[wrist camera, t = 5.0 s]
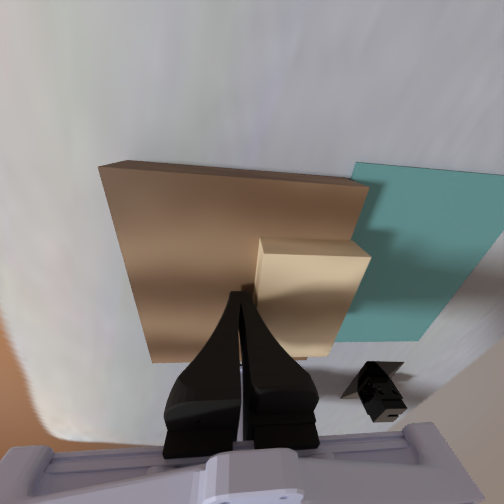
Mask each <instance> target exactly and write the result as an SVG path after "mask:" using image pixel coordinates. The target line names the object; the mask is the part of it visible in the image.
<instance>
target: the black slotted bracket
mask: <svg viewBox="0 0 504 504" xmlns="http://www.w3.org/2000/svg"><path fill="white" fill-rule="evenodd" d="M403 363H404V362H380V361H367V362H366V363H365V365H364V366H363V367H362V369H361V370H360V371H359V373H358V374H357V376H356V377H355V378H354V380H353V381H352V382H351V384H350V385H349V387H348V388H347V389H346V391H345V392H344V394H343V395H342V396H341V398H340V399H357V398H360V400H361V402H362V404H363V406H364V408H365V410H366V412H367V414H368V415H370V417H371V419H372V421H373V422H394V421H395V420H396V419H397V418H398V417H399V416H398V414H402V413H403V412H404V411H405V410H406V409H407V407H406V405H405V404H404V402H403V401H402V399H403V397H402V396H401V394H400V393H399V391H398V390H397V388H396V386H395V385H394V383H393V382H392V380H391V377H392V376H393V375H394V374H395V373H396V372H397V370H398V369H399V368H400V367H401V366H402V365H403ZM392 388H393V389H392Z"/></svg>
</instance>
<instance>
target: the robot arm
mask: <svg viewBox="0 0 504 504" xmlns="http://www.w3.org/2000/svg"><path fill="white" fill-rule="evenodd" d="M239 338H240V347H241V357H242V366H240V356H239ZM318 401H319V396H318V393H317V390H316V387H315V385H314V383H313V380H312V378H311V376H310V374H309V373H308V372H306V371H305V370H304V369H303V368H302V367H301V366H300V365H299V364H298V363H297V362H296V361H295V360H294V359H293V358H292V357H291V356H290V355H289V354H288V353H287V352H286V351H285V350H284V348H283V347H282V346H281V345H280V344H279V343H278V341H277V340H276V339H275V338H274V336H273V335H272V333H271V332H270V331H269V329H268V328H267V326H266V324H265V323H264V321H263V320H262V318H261V316H260V314H259V312H258V310H257V308H256V306H255V304H254V302H253V299H252V297H251V294H250V292H249V291H231V292H230V293H229V298H228V302H227V305H226V307H225V310H224V312H223V314H222V317H221V319H220V320H219V322H218V324H217V326H216V328H215V330H214V332H213V333H212V335H211V336H210V338H209V339H208V341H207V342H206V344H205V345H204V347H203V348H202V349H201V351H200V352H199V353H198V355H197V356H196V357H195V358H194V360H193V361H192V362H191V363H190V364H189V365H188V367H187V368H186V369H185V370H184V371H183V372H182V373H181V374H180V375H179V376H178V378H177V380H176V382H175V384H174V386H173V388H172V390H171V392H170V395H169V397H168V400H167V403H166V407H165V411H164V420H165V423H166V427H167V430H168V431H167V435H166V440H165V444H164V446H156V447H140V448H125V449H108V450H93V451H77V452H61V453H54V451H53V449H52V448H50V447H48V446H44V445H36V446H19V447H12V448H10V449H9V450H8V452H7V453H6V454H5V456H4V457H3V458H2V460H1V461H0V504H476V503H479V502H482V501H484V500H485V497H484V495H483V494H482V493H481V491H480V490H479V488H478V487H477V485H476V484H475V482H474V481H473V479H472V478H471V477H470V475H469V474H468V472H467V471H466V470H465V468H464V466H463V465H462V463H461V462H460V461H459V459H458V458H457V456H456V455H455V453H454V452H453V450H452V449H451V448H450V446H449V445H448V443H447V442H446V440H445V439H444V437H443V436H442V435H441V433H440V432H439V430H438V429H437V427H436V426H435V425H434V423H432V422H424V423H412V424H408V425H406V426H405V427H404V428H403V429H402V431H395V432H394V431H393V432H377V433H361V434H346V435H330V436H318V433H317V430H316V426H315V423H316V419H315V415H314V409H315V407H316V405H317V403H318Z"/></svg>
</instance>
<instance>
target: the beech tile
mask: <svg viewBox="0 0 504 504" xmlns="http://www.w3.org/2000/svg"><path fill="white" fill-rule="evenodd" d="M370 259H371V256H370V255H368V254H367V253H366V252H365V251H364V250H363V249H362V248H361V247H359V246H358V245H357V244H356V243H355V242H354V241H343V240H319V239H295V238H271V237H260V239H259V248H258V257H257V266H256V275H255V284H254V294H253V302H254V304H255V306H256V308H257V310H258V312H259V314H260V316H261V318H262V320H263V321H264V323H265V324H266V326H267V328H268V329H269V331H270V332H271V333H272V335H273V336H274V338H275V339H276V340H277V341H278V343H279V344H280V345H281V346H282V347H283V348H284V350H285V351H286V352H287V353H288V354H289V355H290V356H291V357H323V356H328V355H329V352H330V350H331V348H332V346H333V343H334V341H335V339H336V337H337V334H338V332H339V330H340V327H341V325H342V323H343V321H344V318H345V316H346V314H347V312H348V309H349V307H350V305H351V303H352V300H353V298H354V296H355V293H356V291H357V289H358V287H359V284H360V282H361V280H362V278H363V275H364V273H365V271H366V269H367V266H368V264H369V262H370Z"/></svg>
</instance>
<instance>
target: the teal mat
mask: <svg viewBox="0 0 504 504" xmlns="http://www.w3.org/2000/svg"><path fill="white" fill-rule="evenodd" d="M351 180H352V181H355V182H357V183H360V184H363V185H365V186H368V187H370V188H369V191H368V193H367V196H366V199H365V202H364V204H363V207H362V210H361V213H360V215H359V218H358V221H357V223H356V226H355V229H354V232H353V234H352V237H351V240H350V241H354V242H355V243H356V244H357V245H358V246H359V247H361V248H362V249H363V250H364V251H365V252H366V253H367V254H368V255H370V256H371V259H370V262H369V264H368V266H367V269H366V271H365V273H364V275H363V278H362V280H361V282H360V284H359V287H358V289H357V291H356V293H355V296H354V298H353V300H352V303H351V305H350V307H349V309H348V312H347V314H346V316H345V318H344V321H343V323H342V325H341V327H340V330H339V332H338V334H337V337H336V339H335V341H334V342H382V341H419V339H420V338H421V337H422V336H423V334H424V333H425V332H426V330H427V329H428V328H429V326H430V325H431V324H432V323H433V321H434V320H435V319H436V317H437V316H438V315H439V313H440V312H441V311H442V310H443V308H444V307H445V306H446V304H447V303H448V302H449V300H450V299H451V298H452V297H453V295H454V294H455V293H456V291H457V290H458V289H459V287H460V286H461V285H462V284H463V282H464V281H465V280H466V278H467V277H468V276H469V275H470V273H471V272H472V271H473V269H474V268H475V267H476V265H477V264H478V263H479V262H480V260H481V259H482V258H483V256H484V255H485V254H486V252H487V251H488V250H489V249H490V247H491V246H492V245H493V243H494V242H495V241H496V239H497V238H498V237H499V236H500V234H501V233H502V232H503V230H504V175H494V174H483V173H472V172H461V171H449V170H438V169H427V168H416V167H404V166H393V165H382V164H370V163H359V162H356V164H355V167H354V171H353V174H352V177H351Z"/></svg>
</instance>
